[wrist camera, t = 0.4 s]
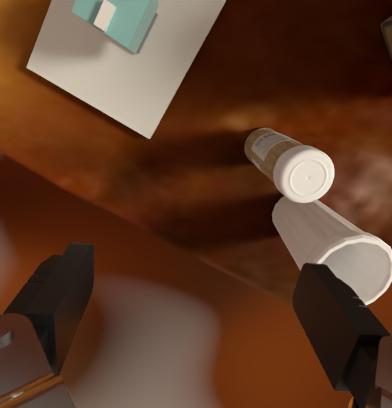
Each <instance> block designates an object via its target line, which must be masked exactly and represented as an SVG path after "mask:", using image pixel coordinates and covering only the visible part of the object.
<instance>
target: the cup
mask: <svg viewBox="0 0 392 408" xmlns="http://www.w3.org/2000/svg"><path fill="white" fill-rule="evenodd" d="M272 221H273V224H274V225H275V227H276V229H277V231H278V232H279V234H280V236H281V238H282V239H283V241H284V243H285V245H286V246H287V248H288V250H289V252H290V253H291V255H292V257H293V259H294V260H295V262H296V264H297V265H298V267H299V269H300V271H301V269H302V266H303V265H304V264H305V263H316V264H325V265H327V266H328V267H329V268H330V270H331V271H332V272H333V273H334V275H335V276H336V277H337V278H339V279H341V280H342V281H343V282H345V283H346V284H347V285H349V286H350V287H351V288H352V289H353V290H354V291H355V293H356V294H357V295H358V296H359V299H361V300H362V301H363V302H364V303H365V305H368V304H370V303H372V302H374V301H375V300H376V299H377V298H378V297H379V296H381V295H382V294H383V293H384V292H385V291H386V290H387V289H388V287H389V285H390V283H391V282H392V250H391V247H390V246H389V245H387V244H386V243H385V242H383V241H382V240H381V239H379V238H378V237H376V236H374V235H372V234H370V233H366V232H363V231H362V230H360V229H359V228H357V227H356V226H354V225H353V224H351V223H350V222H349V221H347V220H346V219H344V218H343V217H341V216H340V215H339V214H337V213H336V212H334V211H333V210H331V209H330V208H328V207H327V206H326V205H324V204H323V203H321V202H320V201H318V200H315V201H312V202H308V203H297V202H293V201H291V200H289V199H288V198H286V197H285V196H283V197H282V198H280V200H279V201H278V202H277V203H276V204H275V206H274V209H273V212H272Z"/></svg>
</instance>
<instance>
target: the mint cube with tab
mask: <svg viewBox="0 0 392 408" xmlns="http://www.w3.org/2000/svg"><path fill="white" fill-rule="evenodd" d="M158 7H159V4H158V0H76V1H75V4H74V6H73V9H72V11H71V12H73V13H74V14H76V15H77V16H79V17H80V18H81V19H83V20H84V21H86V22H87V23H89V24H90V25H92V26H93V27H95V28H96V29H98V30H99V31H101V32H102V33H104V34H105V35H107V36H108V37H110V38H112V39H113V40H115V41H116V42H118V43H119V44H121V45H122V46H124V47H125V48H127V49H128V50H130V51H131V52H133V53H135V54H136V52H137V50H138V48H139V46H140V44H141V42H142V40H143V38H144V36H145V33H146V31H147V29H148V27H149V25H150V23H151V21H152V19H153V17H154V15H155V13H156V11H157V9H158Z"/></svg>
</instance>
